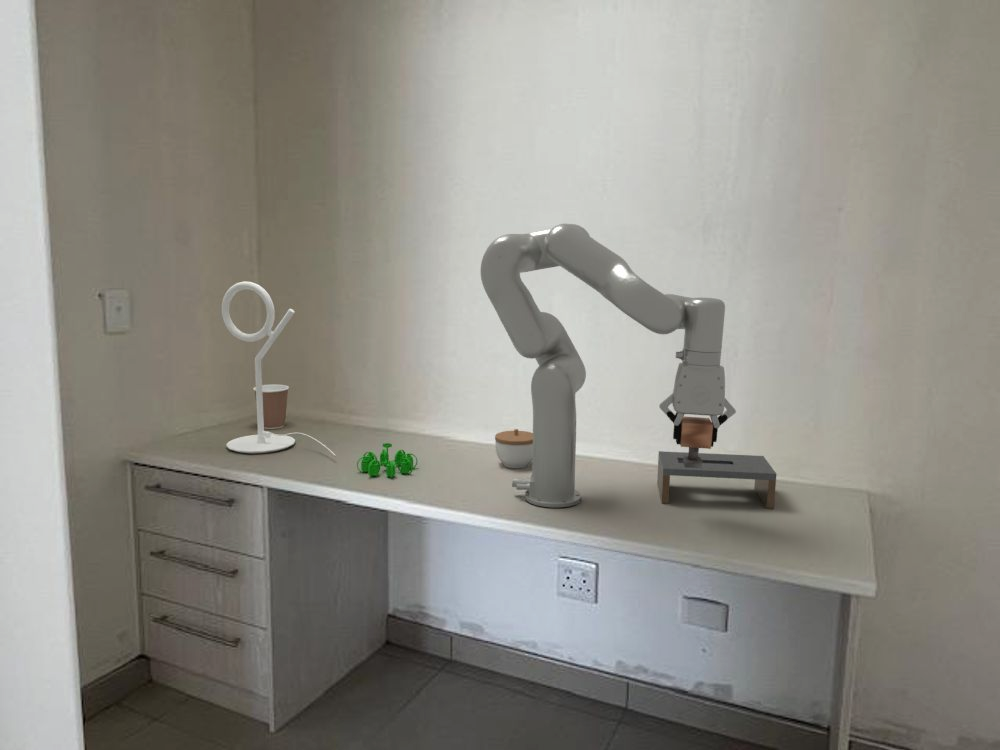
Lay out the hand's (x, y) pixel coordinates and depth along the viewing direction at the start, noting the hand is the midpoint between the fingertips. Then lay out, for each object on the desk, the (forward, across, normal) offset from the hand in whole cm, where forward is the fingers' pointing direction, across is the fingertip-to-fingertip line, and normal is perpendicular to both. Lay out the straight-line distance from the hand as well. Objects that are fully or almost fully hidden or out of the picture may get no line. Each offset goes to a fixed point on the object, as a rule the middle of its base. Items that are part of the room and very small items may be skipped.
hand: (694, 443), depth 164 cm
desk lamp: (+19, -103, +36) cm, 111 cm away
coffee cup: (+19, -117, +59) cm, 132 cm away
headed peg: (+5, 0, 0) cm, 5 cm away
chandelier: (+18, -71, +21) cm, 76 cm away
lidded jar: (+17, -40, +31) cm, 53 cm away
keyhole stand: (+16, +7, +14) cm, 22 cm away
